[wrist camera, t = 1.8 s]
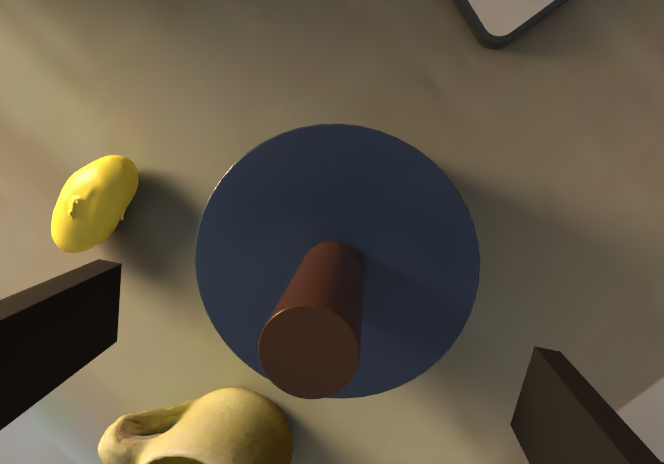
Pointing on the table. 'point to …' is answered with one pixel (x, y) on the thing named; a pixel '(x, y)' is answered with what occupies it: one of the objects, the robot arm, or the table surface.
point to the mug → (203, 432)
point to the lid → (337, 261)
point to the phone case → (503, 18)
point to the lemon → (93, 203)
